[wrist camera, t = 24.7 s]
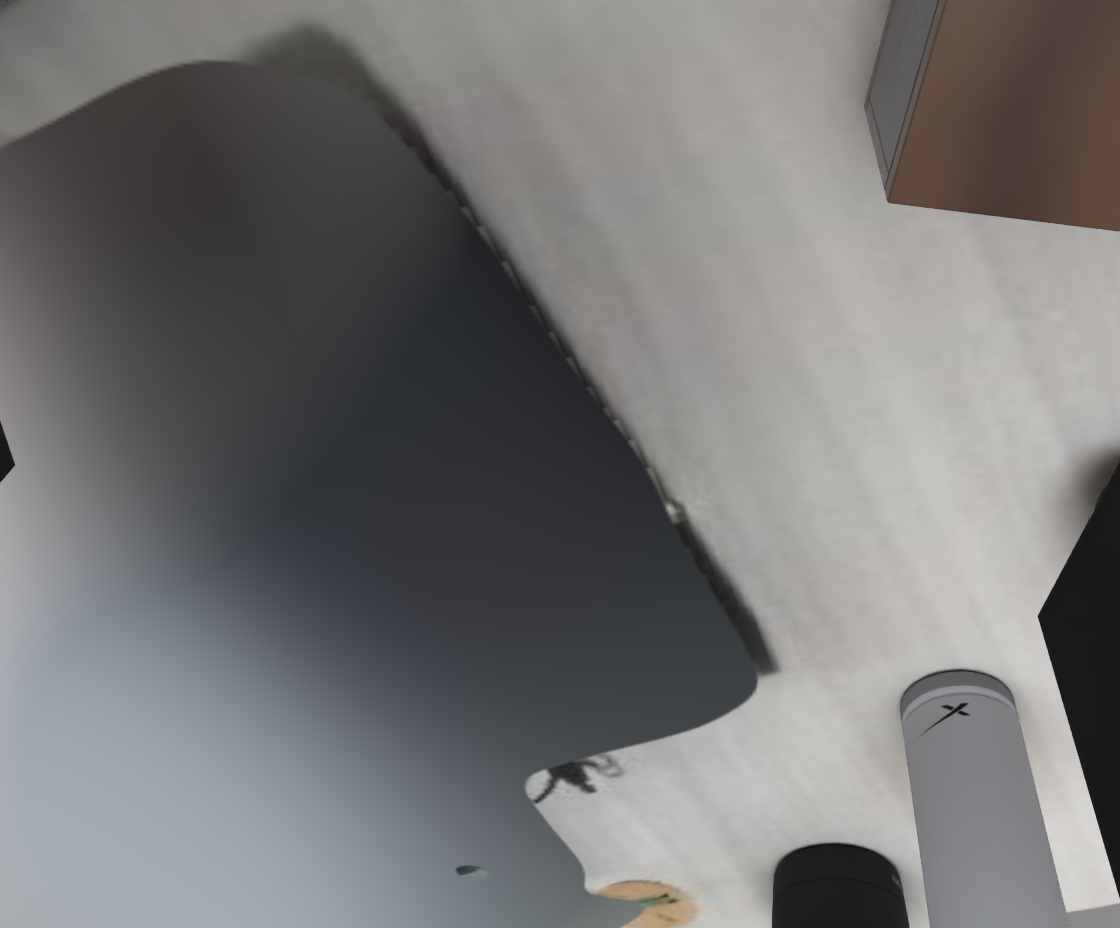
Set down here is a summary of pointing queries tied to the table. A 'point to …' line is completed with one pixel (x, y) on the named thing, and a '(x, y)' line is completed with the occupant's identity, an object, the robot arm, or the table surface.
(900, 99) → the chest
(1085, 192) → the chest lid
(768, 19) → the table surface
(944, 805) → the travel mug
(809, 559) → the table surface
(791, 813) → the table surface
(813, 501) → the table surface
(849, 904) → the black portable speaker
